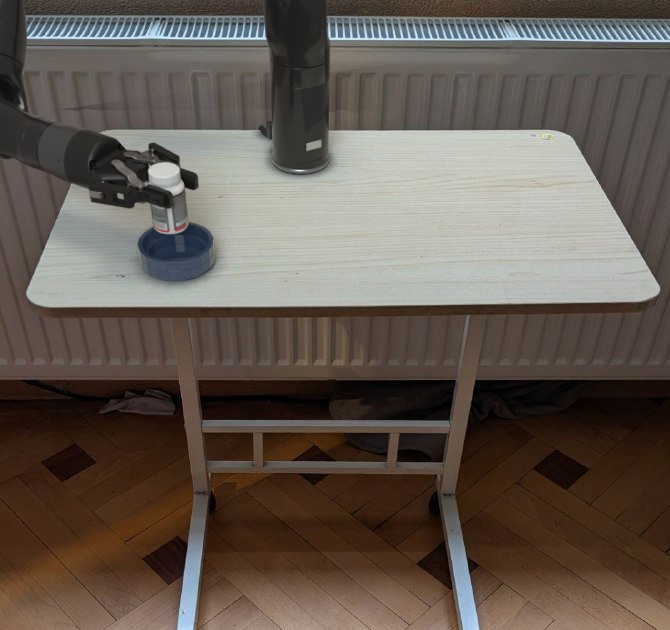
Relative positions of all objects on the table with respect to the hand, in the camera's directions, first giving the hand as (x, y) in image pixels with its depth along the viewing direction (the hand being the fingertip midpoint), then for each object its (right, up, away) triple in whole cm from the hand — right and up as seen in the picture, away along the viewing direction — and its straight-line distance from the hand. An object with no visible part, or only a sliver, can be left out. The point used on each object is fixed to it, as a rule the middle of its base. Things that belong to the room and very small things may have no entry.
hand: (184, 191), depth 107 cm
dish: (-2, -8, +9) cm, 12 cm away
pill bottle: (-3, -3, +5) cm, 7 cm away
